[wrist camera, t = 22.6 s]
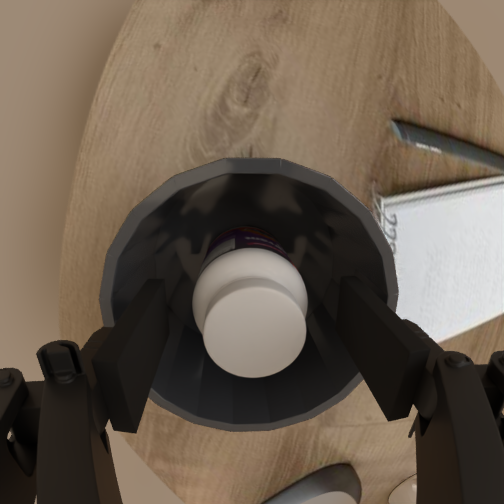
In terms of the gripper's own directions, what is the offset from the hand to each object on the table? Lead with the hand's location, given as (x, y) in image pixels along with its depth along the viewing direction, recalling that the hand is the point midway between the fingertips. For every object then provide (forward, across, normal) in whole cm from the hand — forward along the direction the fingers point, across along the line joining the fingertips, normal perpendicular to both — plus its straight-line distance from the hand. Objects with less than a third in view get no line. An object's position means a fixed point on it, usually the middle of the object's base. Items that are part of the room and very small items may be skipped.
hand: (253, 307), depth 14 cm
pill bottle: (+8, 0, 0) cm, 8 cm away
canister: (+8, 0, 0) cm, 8 cm away
